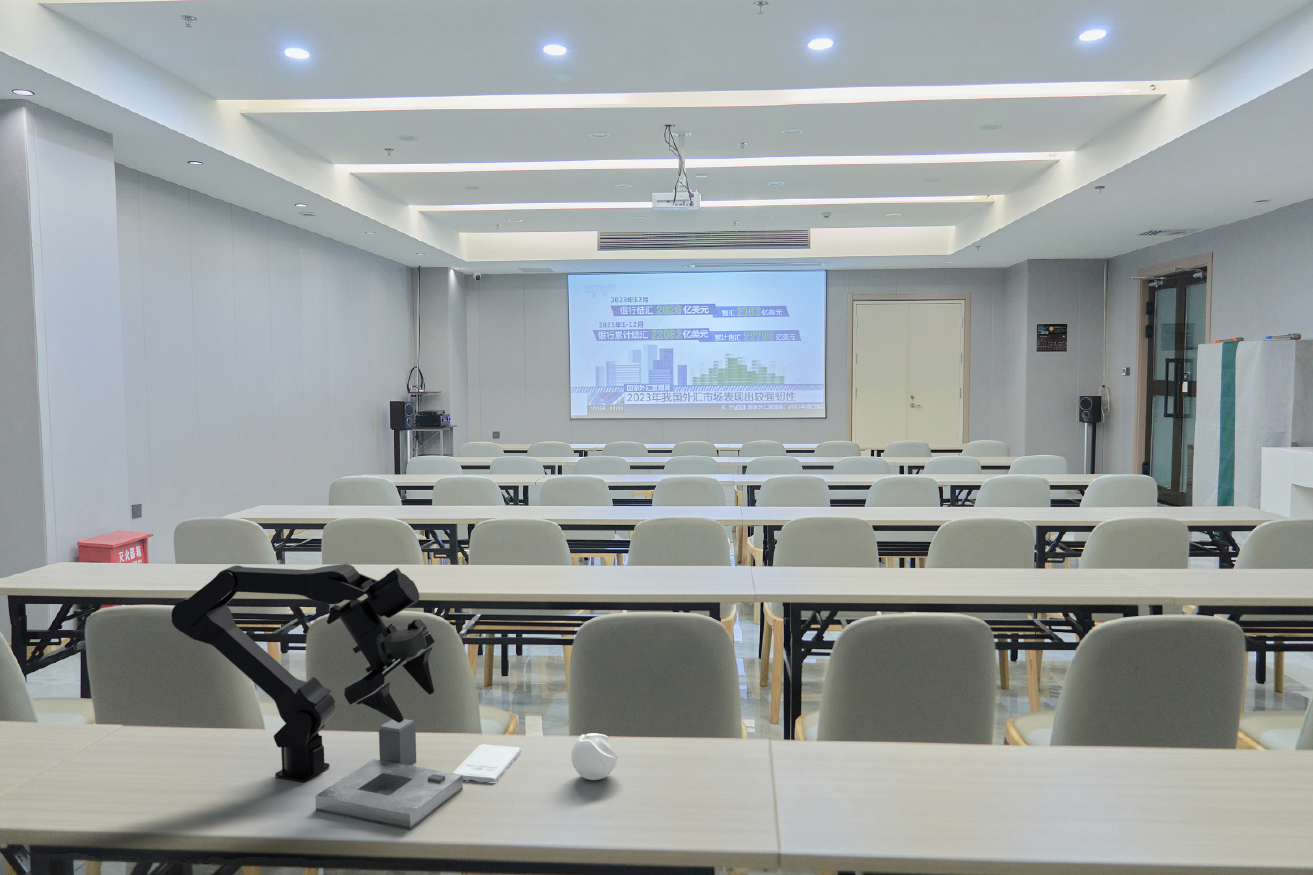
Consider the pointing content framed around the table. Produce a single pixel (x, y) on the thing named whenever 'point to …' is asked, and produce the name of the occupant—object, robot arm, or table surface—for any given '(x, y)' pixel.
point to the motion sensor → (593, 756)
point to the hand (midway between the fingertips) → (417, 707)
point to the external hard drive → (487, 763)
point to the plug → (398, 742)
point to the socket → (390, 793)
